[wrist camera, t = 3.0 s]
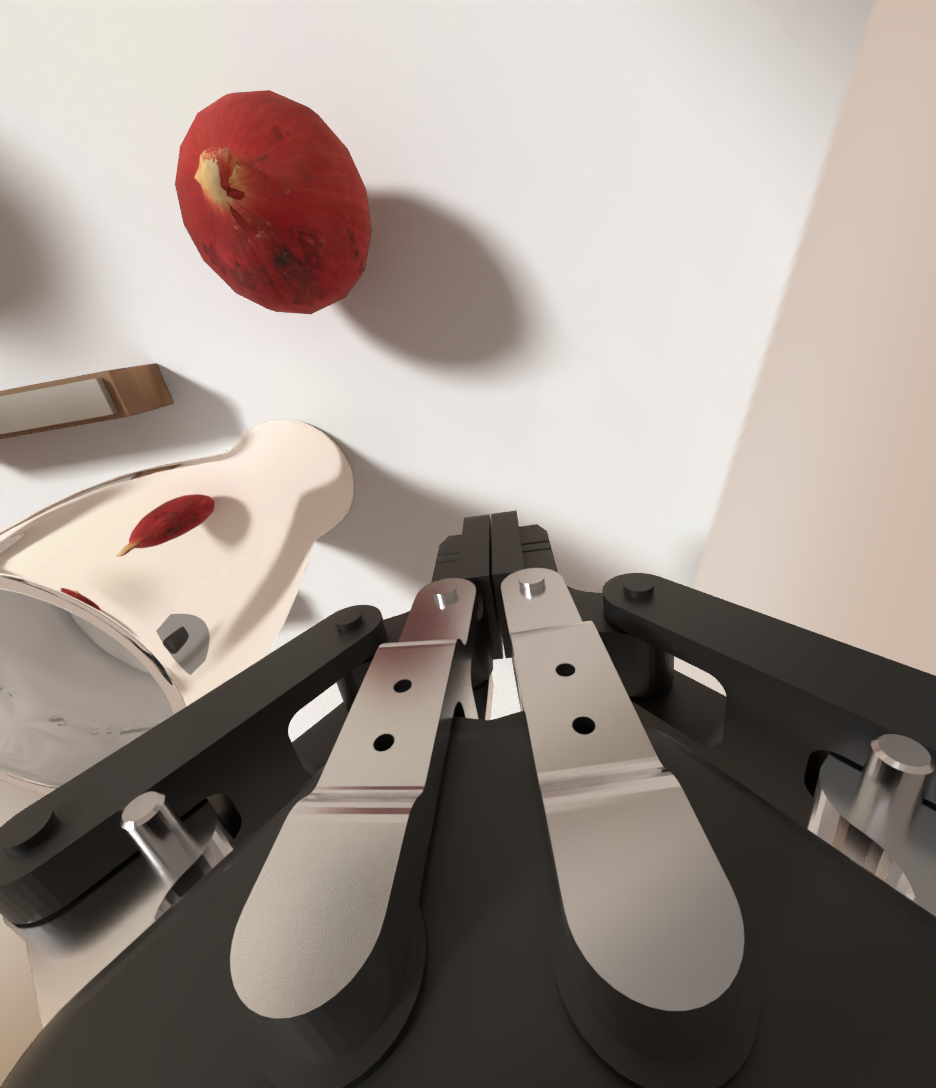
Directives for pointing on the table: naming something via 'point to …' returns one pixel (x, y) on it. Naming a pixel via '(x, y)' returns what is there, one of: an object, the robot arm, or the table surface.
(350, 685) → the robot arm
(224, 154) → the onion
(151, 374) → the cradle
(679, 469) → the table surface
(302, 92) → the table surface
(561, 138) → the table surface
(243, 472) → the beer glass
